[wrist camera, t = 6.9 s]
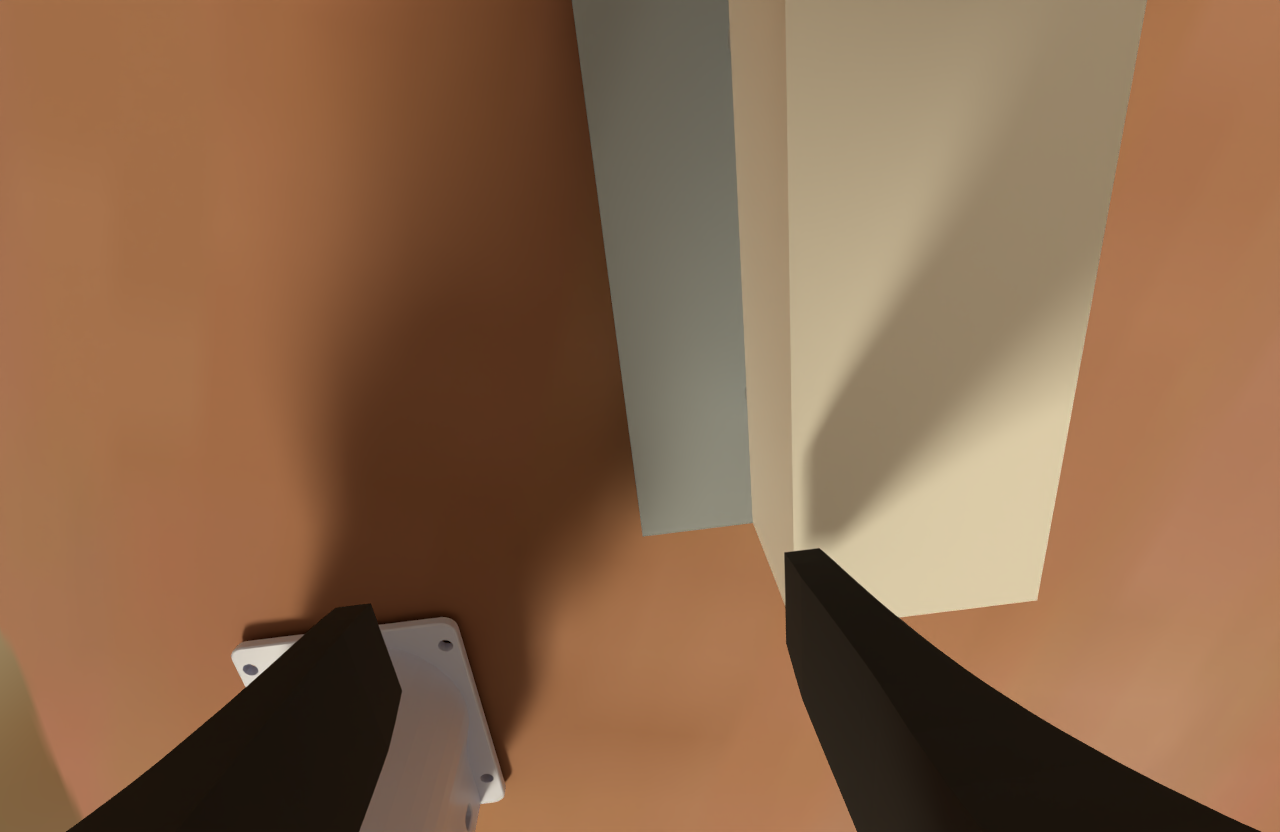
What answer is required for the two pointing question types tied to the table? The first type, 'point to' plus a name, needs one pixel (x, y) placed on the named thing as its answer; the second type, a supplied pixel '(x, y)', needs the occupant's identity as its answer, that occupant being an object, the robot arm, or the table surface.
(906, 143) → the cream rectangular block
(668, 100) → the flat gray board
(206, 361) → the table surface
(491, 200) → the table surface
